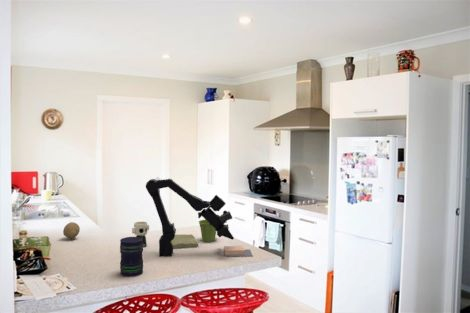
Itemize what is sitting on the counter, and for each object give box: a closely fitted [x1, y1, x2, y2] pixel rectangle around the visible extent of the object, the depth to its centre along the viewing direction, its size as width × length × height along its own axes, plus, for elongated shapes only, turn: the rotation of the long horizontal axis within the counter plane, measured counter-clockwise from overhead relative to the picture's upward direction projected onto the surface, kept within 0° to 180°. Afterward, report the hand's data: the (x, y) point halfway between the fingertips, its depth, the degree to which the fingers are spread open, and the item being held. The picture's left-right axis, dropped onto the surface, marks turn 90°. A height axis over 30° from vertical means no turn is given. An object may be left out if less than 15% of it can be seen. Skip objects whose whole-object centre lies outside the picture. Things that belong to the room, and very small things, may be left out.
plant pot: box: [198, 219, 217, 243], centre depth 230 cm, size 12×12×11 cm
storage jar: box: [119, 236, 144, 278], centre depth 175 cm, size 10×10×15 cm
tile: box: [223, 245, 246, 256], centre depth 205 cm, size 2×8×10 cm
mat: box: [226, 249, 254, 258], centre depth 206 cm, size 13×11×1 cm
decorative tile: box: [171, 233, 199, 250], centre depth 223 cm, size 19×20×4 cm
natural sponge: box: [62, 221, 81, 240], centre depth 230 cm, size 9×9×10 cm
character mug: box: [131, 221, 150, 247], centre depth 217 cm, size 11×7×13 cm, turn 139°
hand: (233, 238), depth 205 cm, fingers closed
